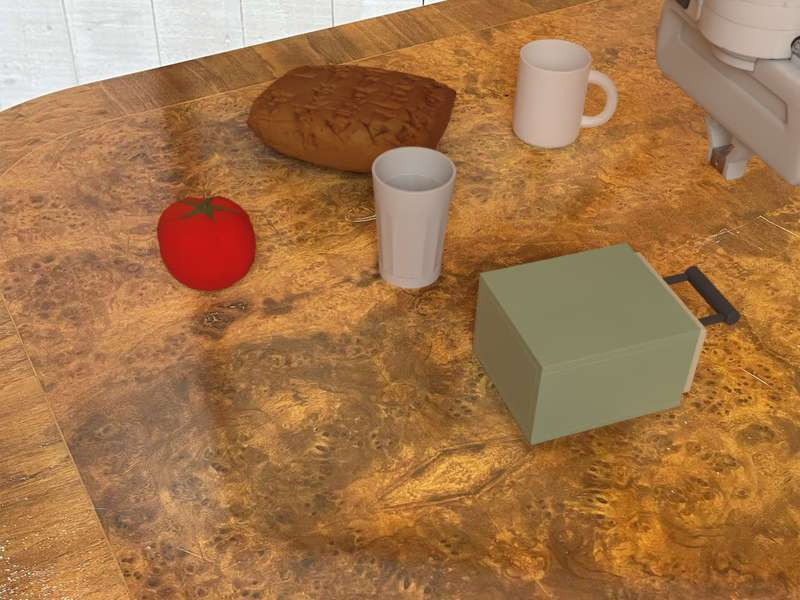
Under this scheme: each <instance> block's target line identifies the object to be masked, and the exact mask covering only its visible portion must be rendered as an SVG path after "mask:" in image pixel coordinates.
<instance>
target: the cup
mask: <svg viewBox="0 0 800 600" xmlns="http://www.w3.org/2000/svg"><path fill="white" fill-rule="evenodd" d="M371 174H372V175H371V177H372V187H373V188H372V189H373V198H374V211H375V225H376V226H375V228H376V239H377V240H376V241H377V253H378V273H379V275H380V277H381V278H382V280H384V281H385V282H386V283H388V284H390V285H392V286H393V287H396V288H400V289H406V290H407V289H408V290H409V289H410V290H411V289H412V290H413V289H420V288H425V287H428V286H430V285H432V284H433V283H435V282H436V281H437V280H438V279H439V278H440V275H441V273H442V271H441V270H442V256H443V255H442V254H443V250H444V244H445V238H446V232H447V231H446V230H447V225H448V219H449V213H450V208H451V207H450V206H451V204H452V199H453V194H454V190H455V189H454V188H455V183H456V178H457V167H456V165H455V162H454V161H453V160H452V159H451V158H450V157H449V156H447V155H446V154H445V153H442V152H440V151H438V150H435V149H434V150H432V149H429V148H423V147H400V148H395V149H392V150H389V151H387V152H384V153H383V154H381V155H380V156H378V157H377V158H376V159H375V161H374V162H373V165H372V173H371Z"/></svg>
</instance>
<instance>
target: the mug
mask: <svg viewBox="0 0 800 600" xmlns="http://www.w3.org/2000/svg"><path fill="white" fill-rule="evenodd" d="M592 62H593V56H592V53H590V51H589V50H588V49H587V48H586V47H584V46H582V45H580V44H579V43H576V42H573V41H569V40H565V39H558V38H542V39H535V40H533V41H529V42H528V43H527V42H526V44H524V45H523V46H522V47H521V48H520V51H519V58H518V66H517V75H516V82H515V83H516V84H515V91H514V92H515V93H514V102H513V103H514V104H513V111H512V120H511V121H512V122H511V124H512V125H511V126H512V132H513V133H514V135H515V136H516V137H517V139H518V140H520V141H521V142H523V143H524V144H526V145H529V146H531V147H534V148H538V149H546V150H551V149H552V150H554V149H555V150H556V149H561V148H565V147H567V146H569V145H571V144H573V143H574V142H576V140H577V139H578V138H579V136H580V133H581V130H582V129H583V128H584V129H590V128H597V127H601V126H602V125H604V124H606V123H607V122H608V121H610V119H612V117H613V116H614V114H615V112H616V111H617V107H618V103H619V93H618V88H617V86H616V84H615V82H614V81H613V79H612V78H610V76H608V75H607V74H606V73H603V72H602V71H600V70H596V69H592ZM589 84H593V85H596V86H599V87H601V88H602V90H603V91H604V92H605V95H606V102H605V106H604V108H603V109H602V111H601V112H599V113H597V114H596V115H584V112H585V107H586V106H585V105H586V101H587V93H588V88H589Z"/></svg>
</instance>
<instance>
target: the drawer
mask: <svg viewBox="0 0 800 600" xmlns="http://www.w3.org/2000/svg"><path fill="white" fill-rule="evenodd" d="M635 253H636V254H637V256H638V257H639V258H640V259H641V260H642V261H643V263H644V264H645V265H646V266H647V267H648V268H649V270H650V271H651V272H652V273H653V274H654V275H655V277H656V278H657V279H658V280H659V281H660V282H661V283H662V285H663V286H664V287H665V288H666V289H667V290H668V292H669V293H670V294H671V295H672V296H673V297H674V299H675V300H676V301H677V302H678V303H679V304H680V306H681V307H682V308H683V309H684V310H685V311H686V313H687V314H688V315H689V316H690V317H691V318H692V320H693V321H694V322H695V323H696V324H697V325H698V327H699V328H700V329H701V332H700V335H699V339H698V342H697V346H696V349H695V353H694V356H693V360H692V363H691V367H690V370H689V374H688V377H687V381H686V385H685V388H684V392H683V394H684V393H688V392H691V388H692V384H693V381H694V378H695V374H696V370H697V367H698V365H699V361H700V358H701V357H700V356H701V353H702V350H703V346H704V343H705V339H706V335H707V332H708V330H707V328H706V327H708V326H712V325H716V324H720V323H721V324H722V323H724V324H725V325H726V326H734V325H735V324H737V323H738V322H739V321H740V319H741V313H740V311H738V309H737V308H735V306H734V305H733V304H732V303H731V302H730V301H729V299H728V298H727V297H725V295H724V294H723V293H722V292H721V291H720V290H719V289H718V288H717V286H715V284H714V283H713V282H712V281H711V280H710V278H708V277H707V276H706V275H705V273H704V272H703V271H702V270H701V269H700V268H699V267H698V266H697V265H691V266H688V267H687V268H686V269H685V270H684V272H682V273H677V274H672V275H669V276H663V277H662V276H661V274H659V272H657V270H656V269H655V268H654V267H653V266H652V264H650V262H649V260H647V258H646V257H645V256H644V255H643V254H642V252H640V251H636V252H635ZM684 282H688V283H689V284H690V286H691V287H692V288H693V289H694V290H695V291H696V292H697V294H698V295H700V297H701V298H702V299H703V300H704V301H705V302H706V303H707V305H708V306H709V307H710V308H711V309H712V310H713V311H714V313H715V314H711V315H708V316H703V317H699V318H698V317H696V316H695V314H694V313H693V312H692V310H691V309H690V308H689V307H688V306H687V305H686V304H685V302H683V300H682V299H681V298H680V297H679V296H678V295H677V293H676V292H675V291H674V290H673V289H672V288H671V285H675V284H679V283H684Z"/></svg>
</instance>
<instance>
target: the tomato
mask: <svg viewBox="0 0 800 600" xmlns="http://www.w3.org/2000/svg"><path fill="white" fill-rule="evenodd" d="M176 199H177V201H175V202H172V203H171V204H169V205H167V207H166V208H165V209H163V211H162V213H161V215H160V216H159V218H158V222H157V226H156V236H157V241H158V248H159V255H160V258H161V261H162V262H163V264H164V266H165V268H166V269H167V271H168V273H170V275H171V276H172V277H173V278H174V279H175V280H176V281H178V282H179V283H180V284H182V285H183V286H185V287H188V288H190V289H192V290H198V291H206V292H213V291H217V290H218V291H219V290H223V289H224V290H225V289H228V288H230V287H232V286H233V285H235V284H236V283H237V282H240V280H242V279H243V278H245V277H246V276H247V274H248V273H249V271H250V270H251V268H252V266H253V265H254V262H255V259H256V250H257V242H256V241H257V240H256V232H255V230H254V226H253V223H252V220H251V217H250V214H248V213H247V211H246V210H245V209H244V208H243V207H242V206H241V205H240V204H239V203H236V202H235V201H233V200H232V199H230V198H228V197H225V196H221V195H216V196H214V195H212V196H211V197H207V198H198V197H190V196H189V197H185V198H183V199H182V198H179V197H176Z"/></svg>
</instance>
